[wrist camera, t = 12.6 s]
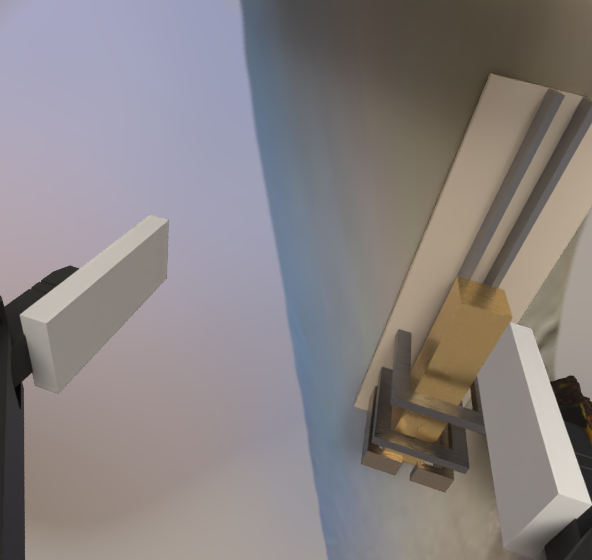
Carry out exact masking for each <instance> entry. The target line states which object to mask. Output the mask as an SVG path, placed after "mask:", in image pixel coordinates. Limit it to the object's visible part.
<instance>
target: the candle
mask: <svg viewBox="0 0 592 560" xmlns="http://www.w3.org/2000/svg"><path fill="white" fill-rule="evenodd" d="M550 384H551V387H552V390H553V393H554V395H555V398H556V401H557V404H558V407H559V410H560V413H561V416H562V419H563V421H565V422H569V423H572V424H575V425H578V426H579V427H580V429H581V430H582V431H583V432H584V434H585V435H586V436H587V438H588V439H589V440H590V442H591V444H592V402H591V401H589V400H590V399H589V398H587V397H584V396H583V395H582V393H581V389H580V385H579V383H578V382H577V379H576V378H575V377H574V376H568V377H566V378H562V379H558V380H556V381H554V382H550Z"/></svg>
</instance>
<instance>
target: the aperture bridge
mask: <svg viewBox="0 0 592 560" xmlns="http://www.w3.org/2000/svg"><path fill="white" fill-rule="evenodd" d="M377 390H378V386H375V387H374V389H373V391H372V394H371V396H370V398H369V405H368V413H367V421H366V428H365V436H364V444H363V451H362V459H361V464H363V465H366V466H369V467H372V468H375V469H378V470H381V471H384V472H386V473H389V474H392V475H396V473H397V472H398V470H399V468H400V466H401V465H402V463H403V456H401V455H398V454H395V453H392V452H389V451H386V450H383V449H380V448H379V445H377V444H374V443H372V434H373V425H374V416H375V408H376V399H377ZM435 444H436V445H439V446H442V447H445V448H448V449H449V443H448V428H447V425H446V427H445V428H444V430H443V431H442V433H441V435H440V436H439V438H438V439H437V441H436V443H435ZM410 481H413V482H416V483H419V484H422V485H425V486H428V487H431V488H434V489H436V490H439V491H442V492H446V490H447V489H448V488H449V486H450V485H451V483H452V482H453V481H454V473H453V470H452V469H449V468H446V467H443V466H440V465H437V464H434V463H433V466H431V465H428V464H425V463H422V462H419V461H418V462H417V463H416V465H415V466H414V468H413V470H412V471H411V473H410Z"/></svg>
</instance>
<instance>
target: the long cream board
mask: <svg viewBox="0 0 592 560" xmlns="http://www.w3.org/2000/svg"><path fill="white" fill-rule="evenodd" d="M591 207H592V98H589V97H585V96H581V95H577V94H573V93H569V92H565V91H561V90H557V89H553V88H549V87H545V86H541V85H537V84H533V83H529V82H525V81H521V80H517V79H513V78H509V77H505V76H501V75H497V74H493V73H490V74H489V77H488V79H487V82H486V84H485V87H484V89H483V91H482V94H481V96H480V99H479V101H478V104H477V106H476V108H475V111H474V113H473V116H472V118H471V121H470V123H469V125H468V128H467V130H466V133H465V135H464V138H463V140H462V142H461V145H460V147H459V150H458V152H457V155H456V157H455V159H454V162H453V164H452V167H451V169H450V172H449V174H448V176H447V179H446V181H445V184H444V186H443V189H442V191H441V193H440V196H439V198H438V201H437V203H436V206H435V208H434V210H433V213H432V215H431V218H430V220H429V223H428V225H427V227H426V230H425V232H424V235H423V237H422V240H421V242H420V244H419V247H418V249H417V252H416V254H415V257H414V259H413V261H412V264H411V266H410V269H409V271H408V273H407V276H406V278H405V281H404V283H403V286H402V288H401V290H400V293H399V295H398V298H397V300H396V303H395V305H394V307H393V310H392V312H391V315H390V317H389V320H388V322H387V324H386V327H385V329H384V332H383V334H382V337H381V339H380V341H379V344H378V346H377V349H376V351H375V354H374V356H373V358H372V361H371V363H370V366H369V368H368V371H367V373H366V375H365V378H364V380H363V383H362V385H361V388H360V390H359V392H358V395H357V397H356V400H355V402H354V407H356V408H359V409H362V410H365V411H368V405H369V398H370V396H371V394H372V391H373V389H374V387H375V386H378V381H379V372H380V370H381V368H382V367H385V368H388V369H391V370H393V362H394V349H395V336H396V333H397V331H398V329H400V330H404V331H407V332H410V333H412V339H411V369H412V367H413V365H414V363H415V361H416V359H417V357H418V355H419V353H420V351H421V349H422V347H423V345H424V343H425V341H426V339H427V337H428V335H429V333H430V331H431V329H432V327H433V325H434V323H435V321H436V319H437V317H438V315H439V313H440V311H441V308H442V306H443V304H444V302H445V300H446V298H447V296H448V294H449V292H450V290H451V288H452V286H453V284H454V282H455V280H456V278H457V276H458V277H462V278H465V279H469V280H472V281H475V282H479V283H482V284H486V285H489V286H492V287H496V288H499V289H503V290H505V294H506V297H507V300H508V303H509V307H510V310H511V313H512V317H513V319H512V320H511V323H514V324H517V323H518V322H519V320H520V319H521V317H522V316H523V314H524V312H525V311H526V309H527V308H528V306H529V305H530V303H531V301H532V300H533V298H534V297H535V295H536V294H537V292H538V290H539V289H540V287H541V286H542V284H543V283H544V281H545V279H546V278H547V276H548V275H549V273H550V272H551V270H552V268H553V267H554V265H555V264H556V262H557V261H558V259H559V257H560V256H561V254H562V253H563V251H564V250H565V248H566V246H567V245H568V243H569V242H570V240H571V239H572V237H573V235H574V234H575V232H576V231H577V229H578V228H579V226H580V224H581V223H582V221H583V220H584V218H585V217H586V215H587V213H588V212H589V210H590V209H591ZM470 397H471V390H470V388H469V389H468V391H467V393H466V394H465V396H464V398H463V399H462V403H463V407H465V405H466V404H467V402H468V400H469V399H470ZM393 406H394V405H392V408H393Z"/></svg>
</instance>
